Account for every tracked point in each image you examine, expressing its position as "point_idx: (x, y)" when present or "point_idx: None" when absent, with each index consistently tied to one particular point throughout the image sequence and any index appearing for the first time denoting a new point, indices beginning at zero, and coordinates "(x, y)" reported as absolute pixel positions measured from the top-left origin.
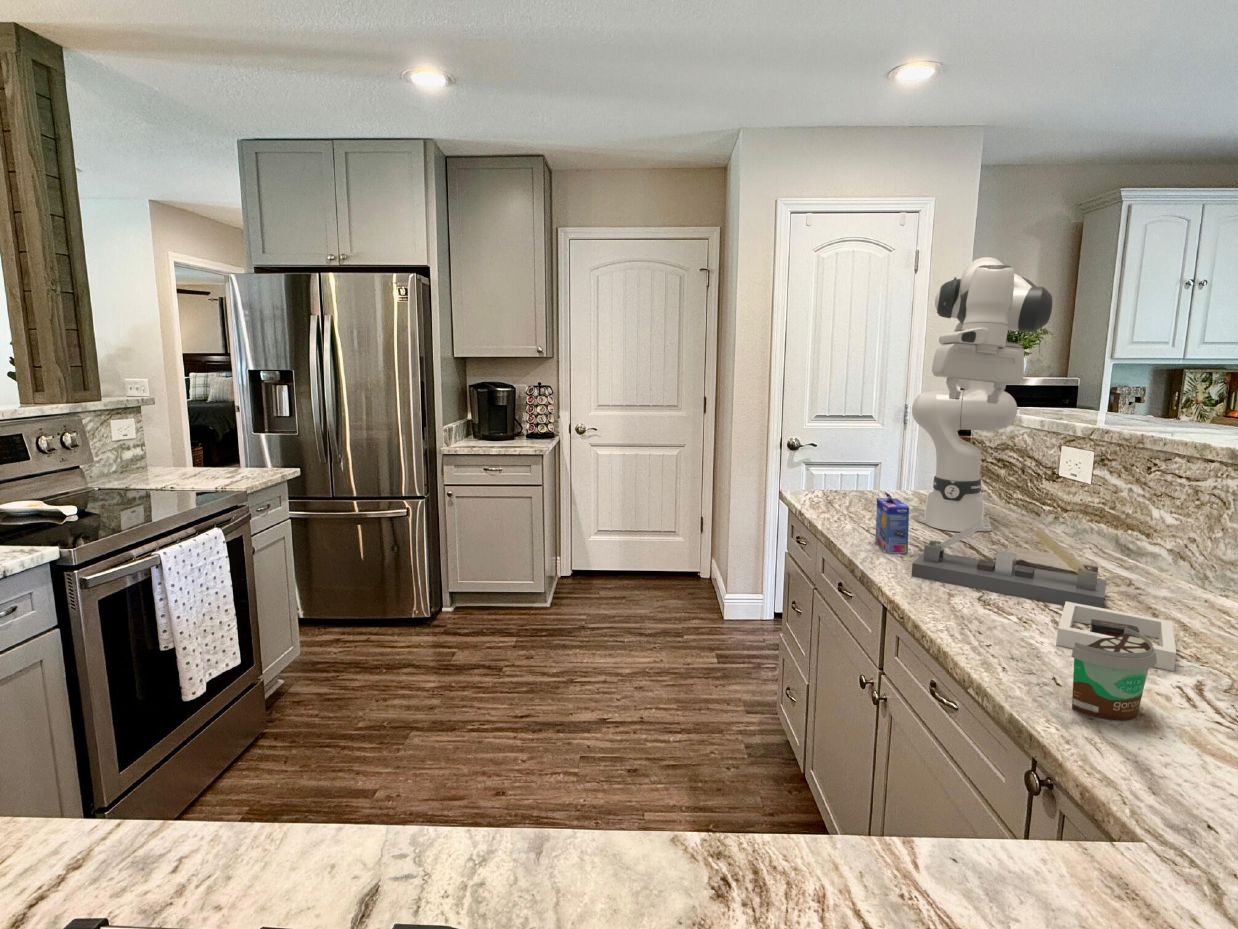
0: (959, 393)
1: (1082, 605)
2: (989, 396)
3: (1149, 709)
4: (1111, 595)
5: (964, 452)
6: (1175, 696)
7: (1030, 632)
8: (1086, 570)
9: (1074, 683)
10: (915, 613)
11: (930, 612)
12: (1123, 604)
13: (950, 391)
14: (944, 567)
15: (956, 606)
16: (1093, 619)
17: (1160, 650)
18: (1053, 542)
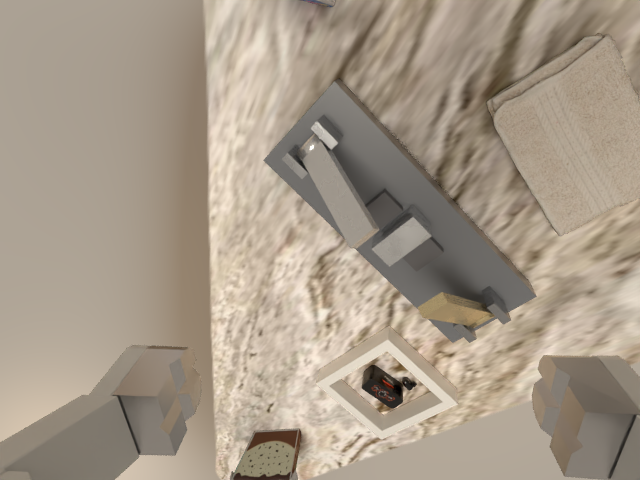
0: (172, 437)
1: (397, 352)
2: (568, 420)
3: (308, 444)
4: (536, 286)
5: None
6: (343, 441)
7: (315, 344)
8: (480, 319)
9: (245, 450)
10: (214, 280)
11: (233, 281)
12: (513, 314)
13: (97, 397)
14: (308, 192)
15: (275, 273)
16: (373, 379)
17: (374, 432)
18: (447, 315)
